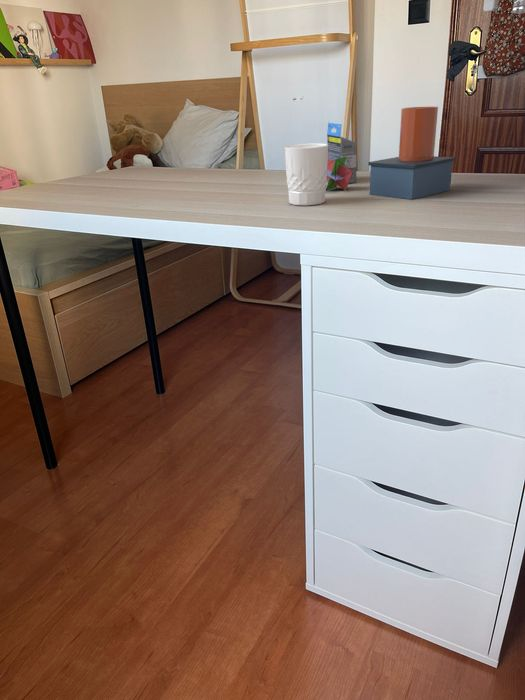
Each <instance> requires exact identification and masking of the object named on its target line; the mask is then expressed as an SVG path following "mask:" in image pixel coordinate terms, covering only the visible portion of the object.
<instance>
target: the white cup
mask: <svg viewBox="0 0 525 700" xmlns="http://www.w3.org/2000/svg"><path fill="white" fill-rule="evenodd" d="M283 148H284V163H285V174H286V186H287V190H288V203H289V204H290V205H294V206H307V207H308V206H316V205H321V204H324V203H325V202H326V191H325V190H326V188H327V181H328V180H327V162H328V144H327V143H316V142H315V143H298V144H297V143H296V144H289V145H284V147H283Z"/></svg>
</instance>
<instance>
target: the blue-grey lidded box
mask: <svg viewBox="0 0 525 700" xmlns="http://www.w3.org/2000/svg"><path fill="white" fill-rule="evenodd" d="M455 161H456V157H452V156H438V155H437V156H435V155H434V159H433V160H428V161H400V160H399V156H396V157H390V158H389V157H388V158H384V159H378V160H373V161H368V162H367V163H368V166H370V168H369V195H373V196H380V195H381V197H388V196H389V197H388V198H395V197H397V199H402V200H403V199H404V200H416V199H421V198H424V197H427V196H432V195H435V194H439V193H444V192H448V191H450V190H451V182H452V173H453V172H452V171H453V164H454V163H453V162H455Z"/></svg>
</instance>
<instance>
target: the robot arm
mask: <svg viewBox="0 0 525 700" xmlns="http://www.w3.org/2000/svg"><path fill="white" fill-rule="evenodd" d="M499 1H500V0H483V7H482V10H483V11H484V12H486V13H487V12H488V13H490V12H495V11H497V10H498V9H499ZM512 7H513V8H512V13H513V14H515V15H521V14H525V0H516V1H513V6H512Z"/></svg>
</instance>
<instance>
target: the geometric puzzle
mask: <svg viewBox="0 0 525 700" xmlns="http://www.w3.org/2000/svg"><path fill="white" fill-rule="evenodd" d="M346 158H347V157H343V158H338V159H335V161H333V160H331V159H329V158H328V162H327V181H326V183H327V184H326V188H325V192H327V191H329V192H330V191H331V192H332V191H334V192H335V191H337V190H336V189H338V190H342V191H347V189H348V187H349V184H351V183H350V182H349V180H350V178H351V177H352V176H353V175H351V174H352V172H353V170H351V169H348V167H347V166H346V167H347V168H346V167H344V166H345V165H344V164H345V161H346ZM332 159H333V158H332ZM347 159H348V158H347ZM348 163H349V162H348ZM349 164H350V163H349ZM349 166H350V165H349ZM348 183H349V184H348Z"/></svg>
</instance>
